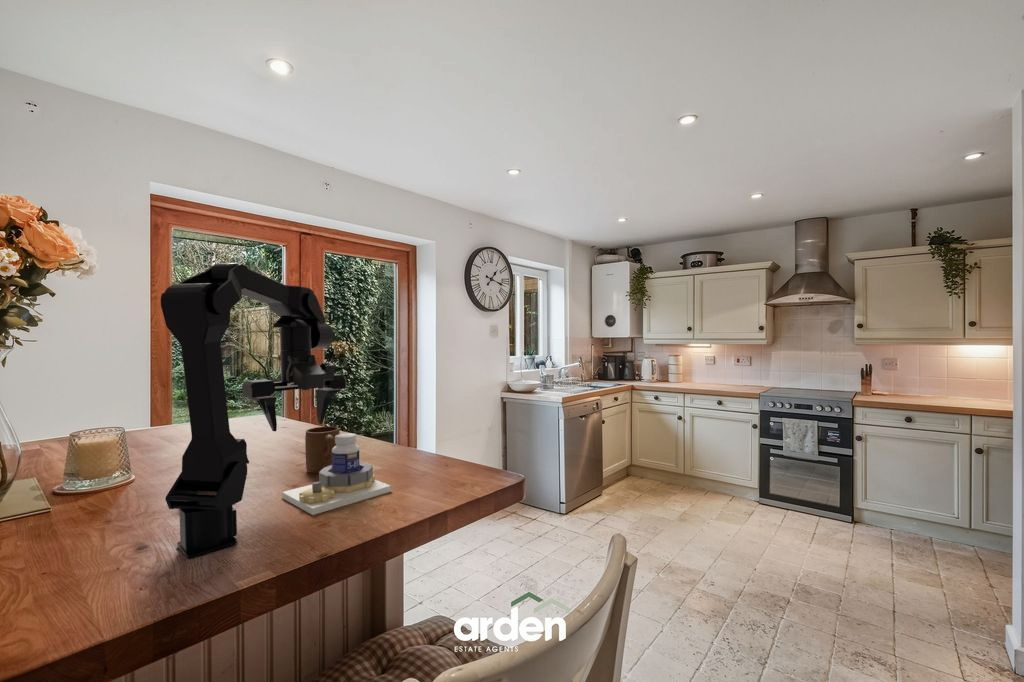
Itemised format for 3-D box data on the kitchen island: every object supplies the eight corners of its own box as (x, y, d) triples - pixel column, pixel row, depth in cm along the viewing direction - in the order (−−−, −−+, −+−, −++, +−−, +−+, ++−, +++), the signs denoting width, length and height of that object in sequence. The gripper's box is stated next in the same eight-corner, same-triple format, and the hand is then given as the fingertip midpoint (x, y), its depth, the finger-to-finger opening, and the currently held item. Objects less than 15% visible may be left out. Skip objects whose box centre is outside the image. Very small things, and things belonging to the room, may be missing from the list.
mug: (350, 474, 107) (349, 433, 107) (315, 481, 103) (314, 438, 103) (335, 462, 117) (334, 424, 117) (302, 468, 113) (301, 428, 113)
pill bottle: (351, 483, 93) (350, 438, 93) (326, 482, 95) (325, 437, 94) (364, 475, 99) (363, 432, 98) (341, 474, 100) (340, 432, 100)
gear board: (311, 515, 84) (311, 490, 84) (281, 498, 93) (281, 475, 93) (390, 491, 96) (390, 469, 96) (357, 478, 104) (357, 458, 104)
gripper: (262, 353, 84) (264, 441, 84) (359, 349, 97) (360, 425, 98) (240, 351, 91) (242, 433, 92) (333, 348, 105) (334, 418, 105)
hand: (298, 427), depth 96 cm, fingers open, 9 cm apart
